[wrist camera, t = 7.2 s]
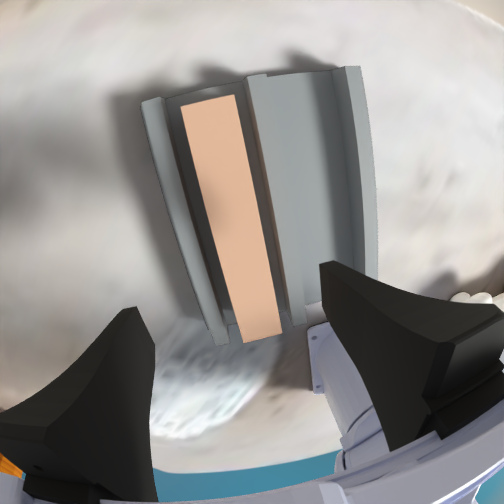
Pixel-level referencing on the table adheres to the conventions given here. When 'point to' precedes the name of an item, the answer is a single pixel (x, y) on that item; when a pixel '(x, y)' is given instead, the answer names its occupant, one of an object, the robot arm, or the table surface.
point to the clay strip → (233, 213)
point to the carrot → (9, 467)
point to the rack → (278, 184)
